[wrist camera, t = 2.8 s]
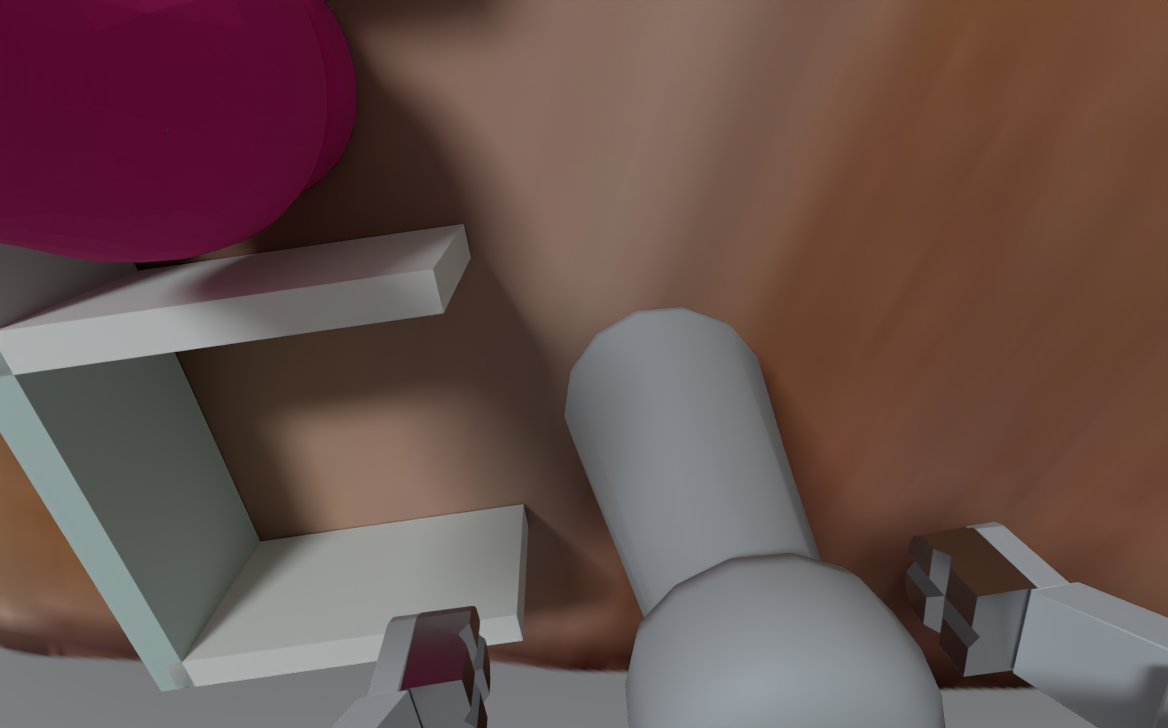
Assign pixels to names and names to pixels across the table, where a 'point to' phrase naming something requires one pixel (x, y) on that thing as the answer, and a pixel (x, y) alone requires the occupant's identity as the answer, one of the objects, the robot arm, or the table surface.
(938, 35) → the table surface
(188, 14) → the pepper mill
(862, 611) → the salt shaker
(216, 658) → the condiment rack
